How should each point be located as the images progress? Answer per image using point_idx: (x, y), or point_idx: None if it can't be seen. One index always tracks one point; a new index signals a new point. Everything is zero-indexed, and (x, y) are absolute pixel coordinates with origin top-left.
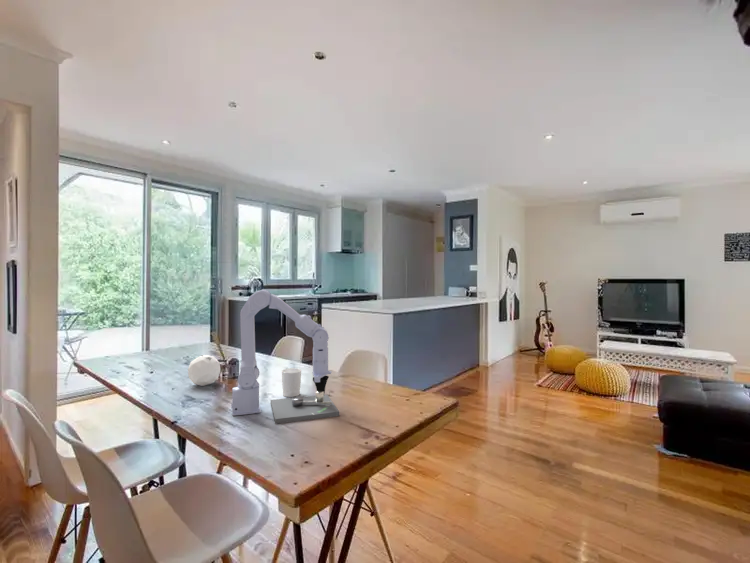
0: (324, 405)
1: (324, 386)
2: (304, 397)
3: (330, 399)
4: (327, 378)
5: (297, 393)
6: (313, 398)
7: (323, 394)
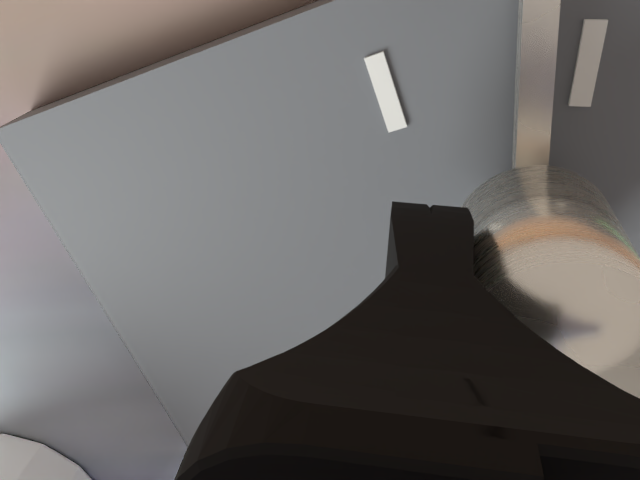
0: (565, 122)
1: (513, 323)
2: (197, 412)
3: (233, 43)
4: (602, 472)
5: (39, 470)
6: (221, 311)
7: (600, 236)
